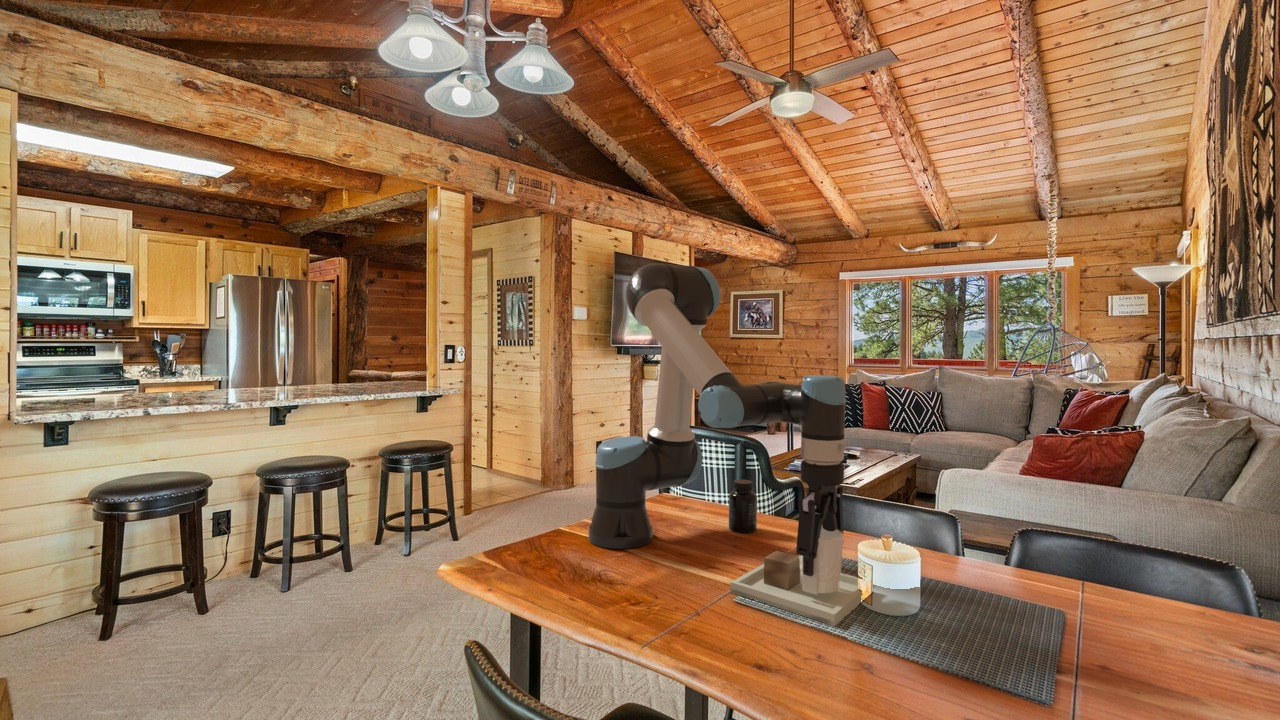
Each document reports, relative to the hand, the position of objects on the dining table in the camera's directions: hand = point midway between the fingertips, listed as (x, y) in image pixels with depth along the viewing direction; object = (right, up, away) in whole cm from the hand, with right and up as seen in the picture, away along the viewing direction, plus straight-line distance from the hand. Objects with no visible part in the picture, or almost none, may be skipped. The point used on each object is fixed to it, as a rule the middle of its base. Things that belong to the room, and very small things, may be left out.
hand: (820, 584), depth 112 cm
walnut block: (-6, -1, +5) cm, 8 cm away
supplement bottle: (-8, -1, +40) cm, 40 cm away
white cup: (0, 0, 0) cm, 0 cm away
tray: (-3, -2, +2) cm, 4 cm away
